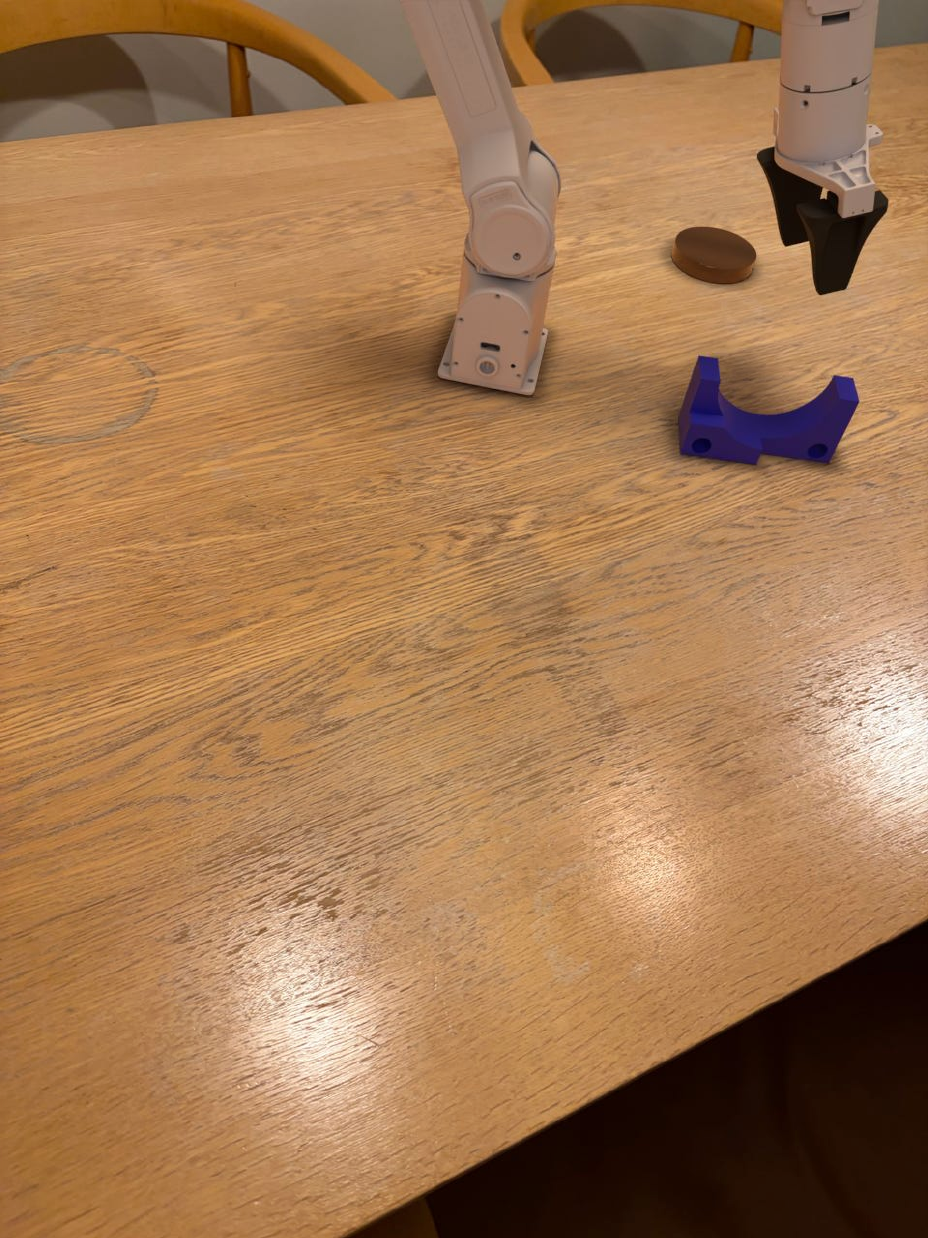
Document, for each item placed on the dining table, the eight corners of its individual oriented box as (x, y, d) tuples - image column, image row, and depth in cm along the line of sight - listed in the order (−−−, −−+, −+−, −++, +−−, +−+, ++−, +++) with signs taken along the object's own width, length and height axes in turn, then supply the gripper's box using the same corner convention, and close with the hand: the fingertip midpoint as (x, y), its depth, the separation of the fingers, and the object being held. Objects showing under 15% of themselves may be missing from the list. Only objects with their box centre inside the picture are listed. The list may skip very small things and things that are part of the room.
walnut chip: (751, 290, 94) (757, 275, 93) (669, 274, 95) (673, 259, 94) (751, 248, 100) (756, 234, 98) (673, 234, 100) (676, 219, 99)
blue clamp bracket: (680, 453, 77) (702, 390, 73) (677, 417, 80) (698, 355, 76) (831, 475, 77) (862, 413, 73) (823, 439, 80) (853, 377, 76)
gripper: (934, 99, 60) (905, 300, 69) (846, 25, 70) (832, 210, 79) (816, 127, 60) (805, 323, 70) (746, 50, 70) (744, 231, 80)
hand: (813, 265), depth 75 cm, fingers open, 7 cm apart
